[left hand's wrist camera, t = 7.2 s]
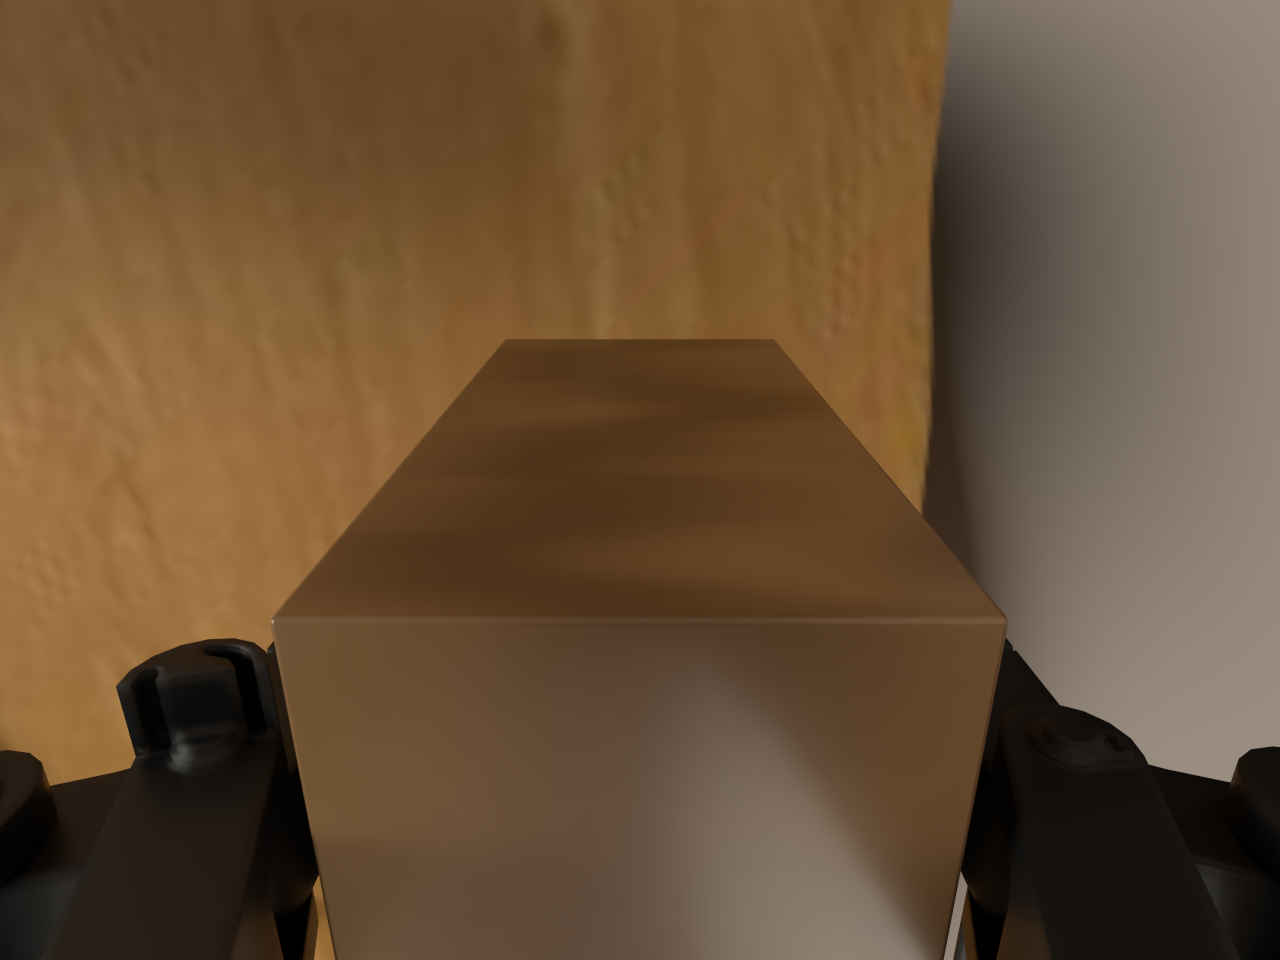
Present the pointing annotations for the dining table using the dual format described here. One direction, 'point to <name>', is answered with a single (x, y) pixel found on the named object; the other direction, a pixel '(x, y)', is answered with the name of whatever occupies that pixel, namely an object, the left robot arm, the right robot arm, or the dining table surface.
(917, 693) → the block
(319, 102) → the dining table surface
